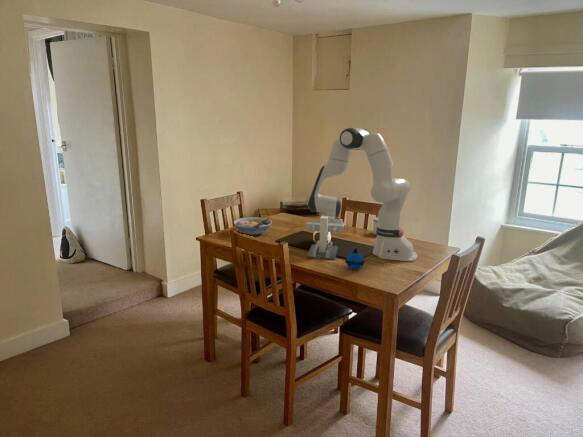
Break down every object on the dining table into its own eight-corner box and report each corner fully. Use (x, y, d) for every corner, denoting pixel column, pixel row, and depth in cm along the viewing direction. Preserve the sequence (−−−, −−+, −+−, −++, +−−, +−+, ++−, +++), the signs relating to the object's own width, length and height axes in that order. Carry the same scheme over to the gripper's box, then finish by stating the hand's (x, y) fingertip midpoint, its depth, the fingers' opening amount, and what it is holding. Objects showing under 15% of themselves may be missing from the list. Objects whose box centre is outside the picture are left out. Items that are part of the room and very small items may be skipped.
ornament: (352, 264, 209) (353, 245, 207) (367, 269, 204) (368, 249, 201) (341, 269, 203) (342, 248, 201) (356, 274, 197) (357, 253, 195)
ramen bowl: (243, 226, 274) (243, 214, 272) (278, 230, 267) (278, 217, 265) (226, 237, 251) (225, 223, 249) (262, 241, 244) (263, 227, 242)
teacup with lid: (381, 236, 258) (382, 217, 255) (369, 233, 264) (370, 214, 261) (393, 233, 265) (395, 214, 263) (381, 230, 272) (382, 211, 269)
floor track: (312, 246, 237) (312, 240, 236) (337, 247, 235) (338, 241, 234) (306, 257, 218) (306, 251, 217) (334, 259, 216) (335, 253, 215)
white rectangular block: (320, 249, 229) (321, 215, 225) (326, 249, 228) (328, 216, 224) (319, 252, 224) (320, 218, 220) (325, 252, 224) (327, 218, 219)
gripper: (307, 217, 238) (303, 223, 225) (345, 219, 234) (343, 225, 221) (307, 228, 239) (303, 235, 226) (344, 230, 236) (343, 237, 223)
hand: (323, 230), depth 224 cm, fingers open, 8 cm apart
